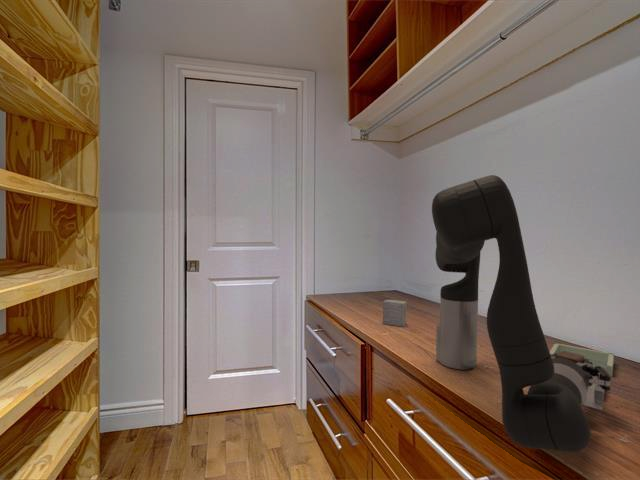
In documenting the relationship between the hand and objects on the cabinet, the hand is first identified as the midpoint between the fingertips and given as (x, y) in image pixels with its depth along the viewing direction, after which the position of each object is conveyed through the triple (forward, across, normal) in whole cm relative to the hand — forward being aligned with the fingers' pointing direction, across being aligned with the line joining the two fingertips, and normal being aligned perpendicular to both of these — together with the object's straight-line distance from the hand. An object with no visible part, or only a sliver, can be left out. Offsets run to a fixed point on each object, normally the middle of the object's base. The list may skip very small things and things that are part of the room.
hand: (571, 360), depth 76 cm
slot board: (+12, 0, +7) cm, 14 cm away
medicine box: (+26, +56, +8) cm, 63 cm away
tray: (+23, 0, +7) cm, 24 cm away
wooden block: (-3, 0, +6) cm, 7 cm away
